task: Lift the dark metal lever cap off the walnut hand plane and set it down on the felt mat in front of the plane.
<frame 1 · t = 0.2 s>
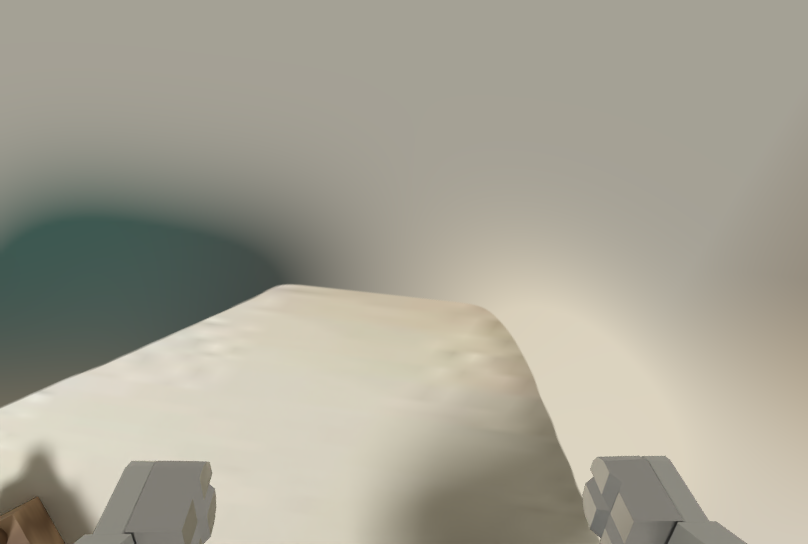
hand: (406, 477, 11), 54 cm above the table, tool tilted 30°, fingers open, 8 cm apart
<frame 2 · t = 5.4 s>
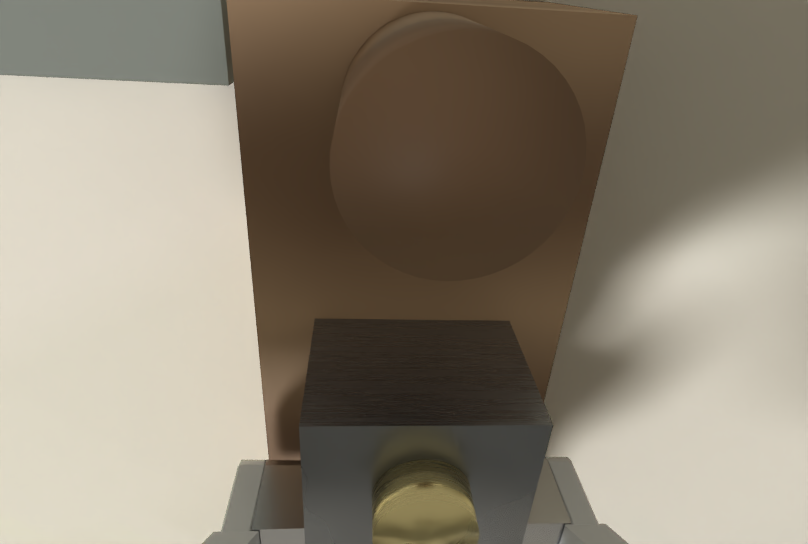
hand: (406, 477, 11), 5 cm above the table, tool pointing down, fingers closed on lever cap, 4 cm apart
lever cap: (403, 448, 12), point 5 cm above the table, touching gripper, plane body
plane body: (393, 331, 16), on the table
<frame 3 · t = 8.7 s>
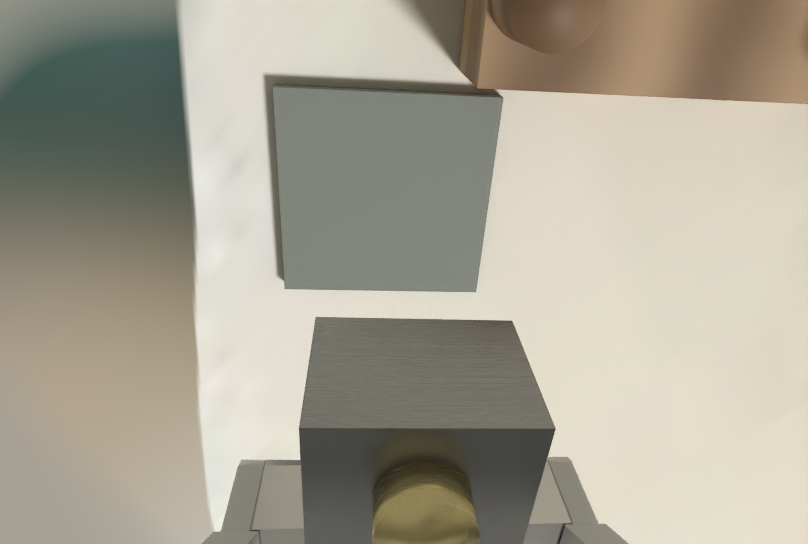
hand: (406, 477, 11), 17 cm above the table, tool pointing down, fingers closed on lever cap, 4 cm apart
felt mat: (385, 196, 26), on the table
lever cap: (404, 446, 12), point 16 cm above the table, touching gripper
plane body: (675, 5, 23), on the table
when the fingers open (3 cm above the table, at t = 11.7 s): lever cap drops 2 cm, resting on felt mat.
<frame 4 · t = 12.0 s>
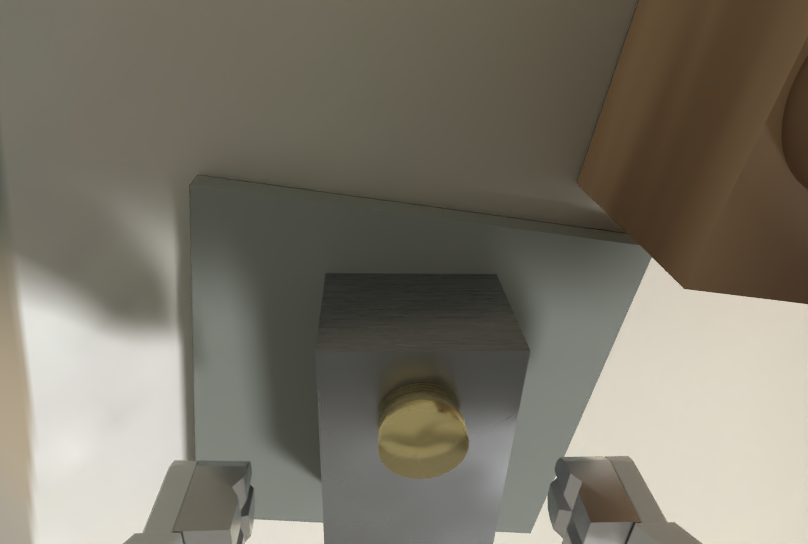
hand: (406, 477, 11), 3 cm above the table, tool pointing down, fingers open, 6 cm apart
felt mat: (396, 382, 14), on the table
lever cap: (405, 394, 13), point 1 cm above the table, touching felt mat
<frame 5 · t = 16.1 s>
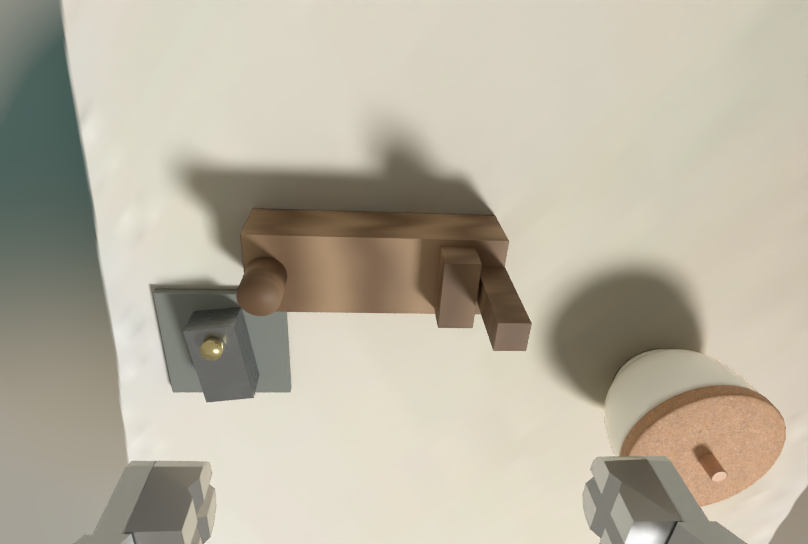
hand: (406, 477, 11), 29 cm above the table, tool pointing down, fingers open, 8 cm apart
felt mat: (227, 341, 44), on the table
lever cap: (227, 344, 44), point 1 cm above the table, touching felt mat
lidded bowl: (649, 378, 50), on the table
plane body: (375, 248, 41), on the table
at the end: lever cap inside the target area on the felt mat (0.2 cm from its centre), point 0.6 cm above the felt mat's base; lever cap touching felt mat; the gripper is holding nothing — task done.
